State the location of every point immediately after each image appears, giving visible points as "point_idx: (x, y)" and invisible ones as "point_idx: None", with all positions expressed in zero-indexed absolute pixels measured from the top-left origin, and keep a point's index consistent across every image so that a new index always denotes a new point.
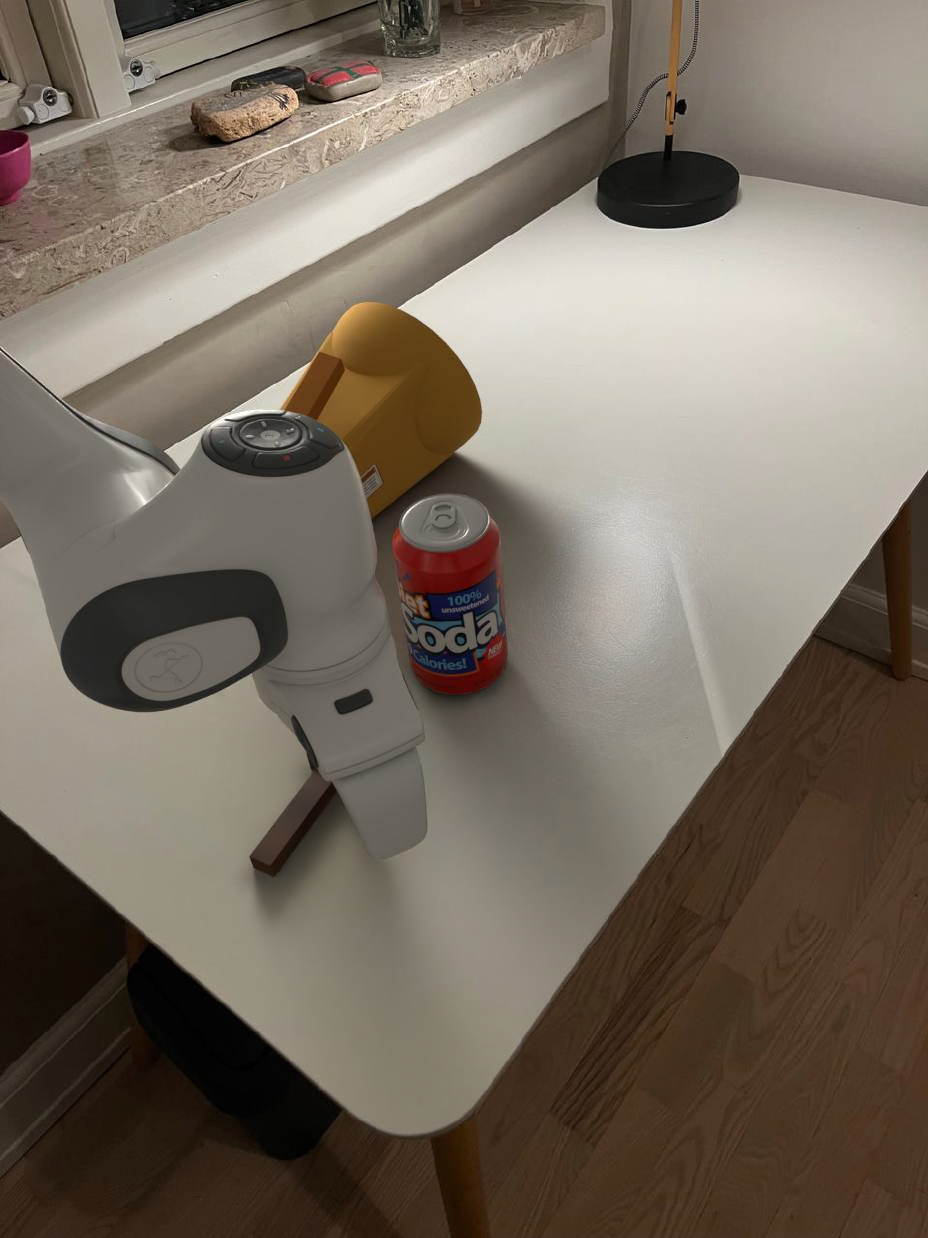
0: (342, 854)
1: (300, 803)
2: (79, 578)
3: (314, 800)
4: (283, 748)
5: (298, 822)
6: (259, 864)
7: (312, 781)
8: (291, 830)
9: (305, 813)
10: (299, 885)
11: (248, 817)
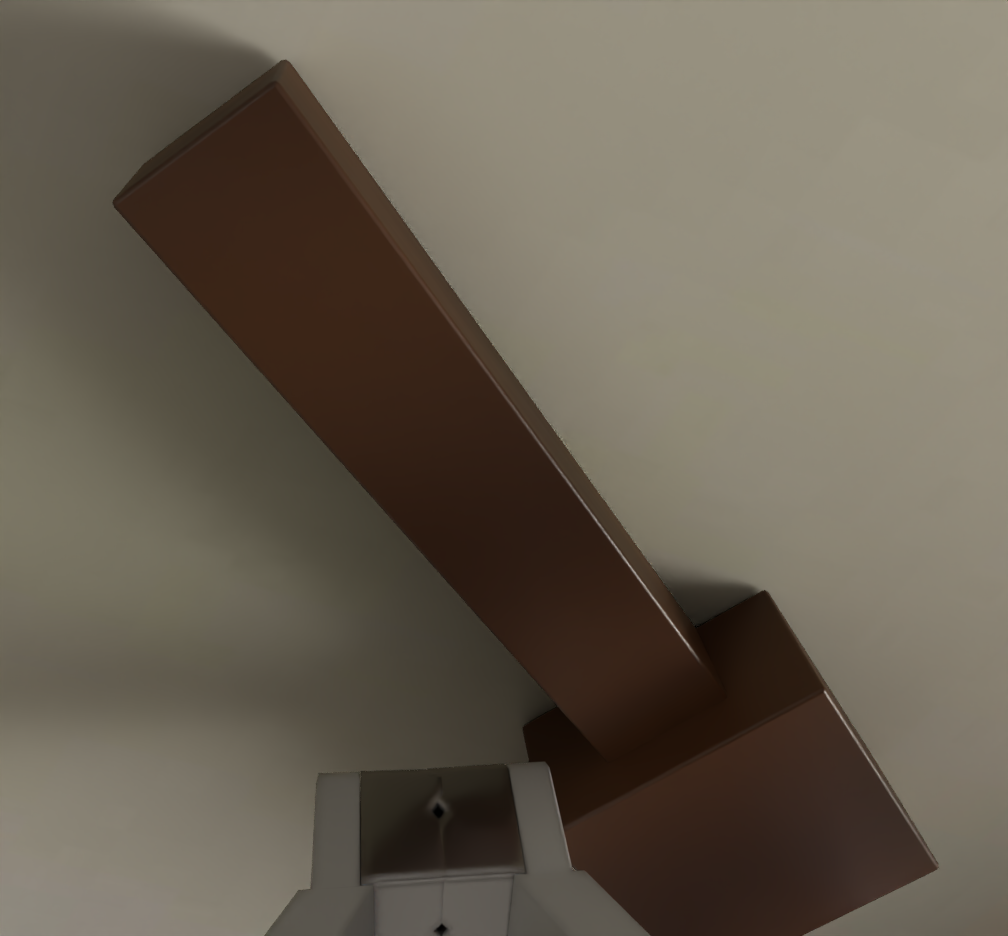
0: (148, 563)
1: (526, 539)
2: None
3: (499, 610)
4: (991, 512)
5: (390, 489)
6: (207, 124)
7: (637, 634)
8: (353, 432)
9: (439, 540)
10: (18, 290)
11: (702, 178)
